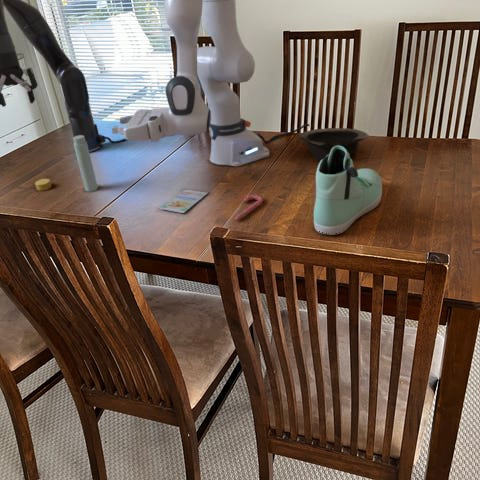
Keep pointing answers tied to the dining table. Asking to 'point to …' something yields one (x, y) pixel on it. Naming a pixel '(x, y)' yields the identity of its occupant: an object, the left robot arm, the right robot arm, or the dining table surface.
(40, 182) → the lid
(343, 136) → the stone bowl
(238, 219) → the candy cane
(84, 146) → the mint green cylinder
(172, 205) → the baking ingredient package
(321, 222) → the sneaker
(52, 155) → the dining table surface
